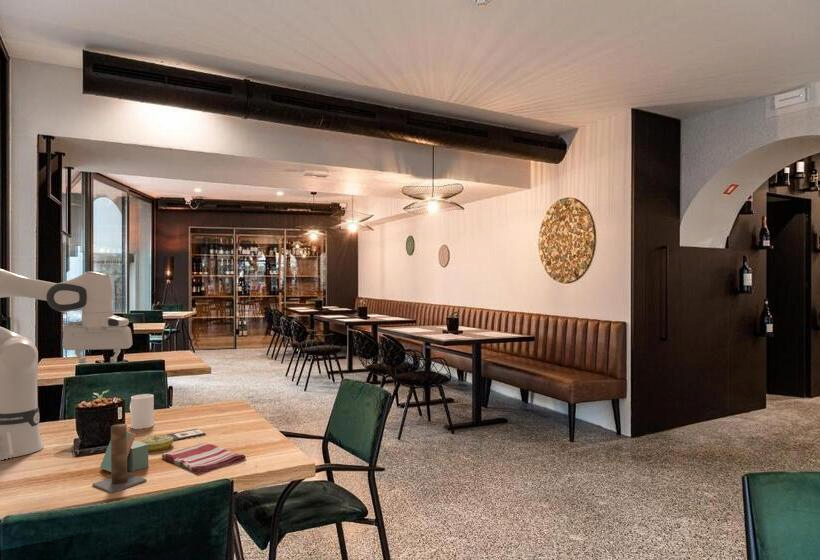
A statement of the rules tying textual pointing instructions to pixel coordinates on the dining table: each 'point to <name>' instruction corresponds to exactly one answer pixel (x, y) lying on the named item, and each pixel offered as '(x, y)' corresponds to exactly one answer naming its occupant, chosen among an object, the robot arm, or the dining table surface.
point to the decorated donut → (158, 442)
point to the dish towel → (202, 457)
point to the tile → (107, 457)
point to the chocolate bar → (186, 434)
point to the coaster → (113, 488)
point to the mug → (142, 411)
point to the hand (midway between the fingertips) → (98, 363)
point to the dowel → (119, 453)
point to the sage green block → (137, 456)
